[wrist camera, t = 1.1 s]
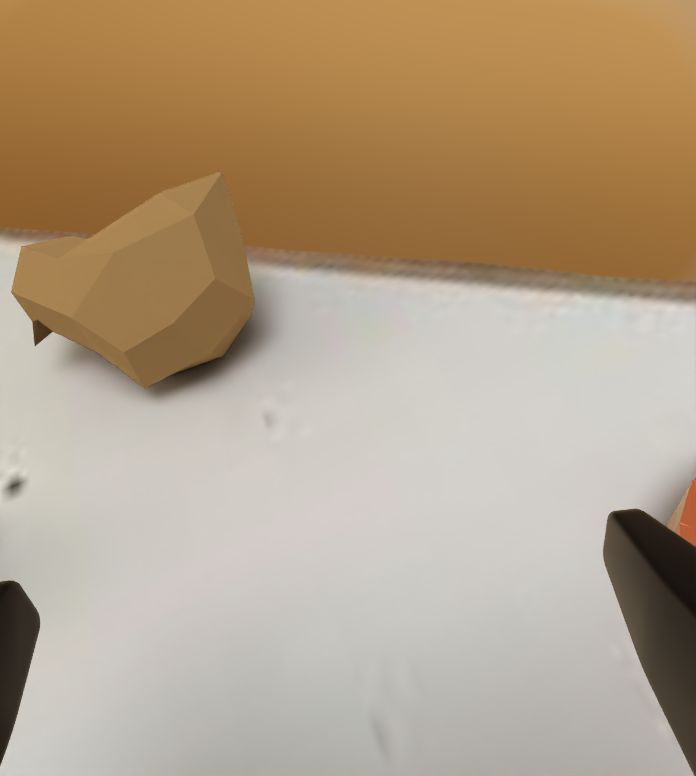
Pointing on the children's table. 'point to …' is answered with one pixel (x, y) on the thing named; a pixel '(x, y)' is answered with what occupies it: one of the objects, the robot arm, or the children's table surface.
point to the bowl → (685, 515)
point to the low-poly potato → (146, 283)
